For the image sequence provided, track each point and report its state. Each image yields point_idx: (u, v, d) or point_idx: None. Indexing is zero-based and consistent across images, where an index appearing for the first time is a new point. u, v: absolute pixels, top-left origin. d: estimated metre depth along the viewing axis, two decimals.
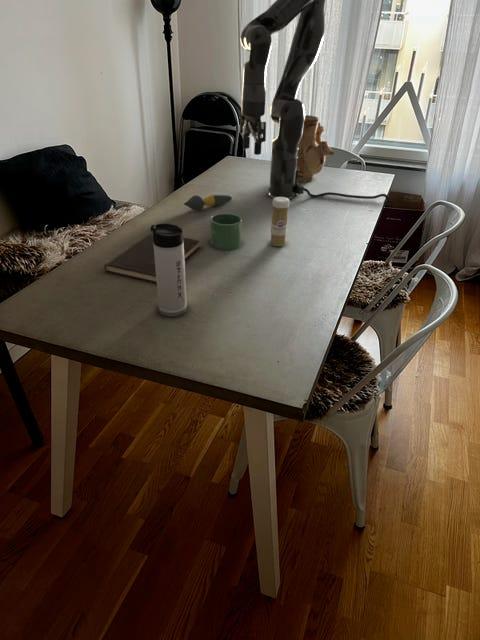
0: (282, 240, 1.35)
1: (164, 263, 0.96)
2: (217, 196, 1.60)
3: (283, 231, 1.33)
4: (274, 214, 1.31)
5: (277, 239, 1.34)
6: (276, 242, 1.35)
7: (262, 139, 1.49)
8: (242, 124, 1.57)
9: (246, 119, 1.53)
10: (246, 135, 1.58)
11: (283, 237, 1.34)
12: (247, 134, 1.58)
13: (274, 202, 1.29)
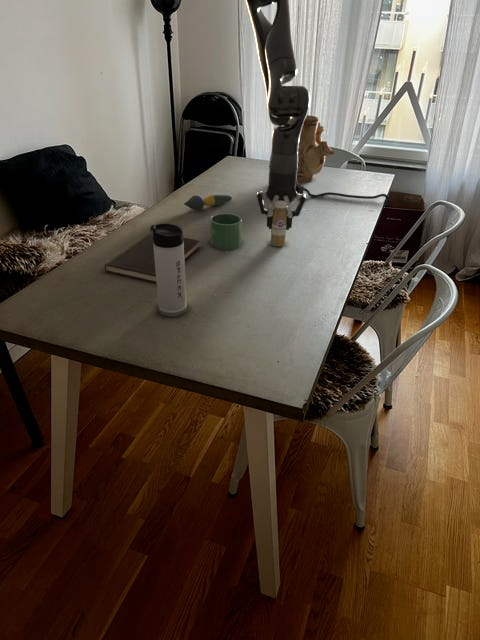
0: (282, 240, 1.35)
1: (164, 263, 0.96)
2: (217, 196, 1.60)
3: (283, 231, 1.33)
4: (274, 214, 1.31)
5: (277, 239, 1.34)
6: (276, 242, 1.35)
7: None
8: (263, 203, 1.30)
9: (272, 193, 1.28)
10: (271, 213, 1.32)
11: (283, 237, 1.34)
12: None
13: None
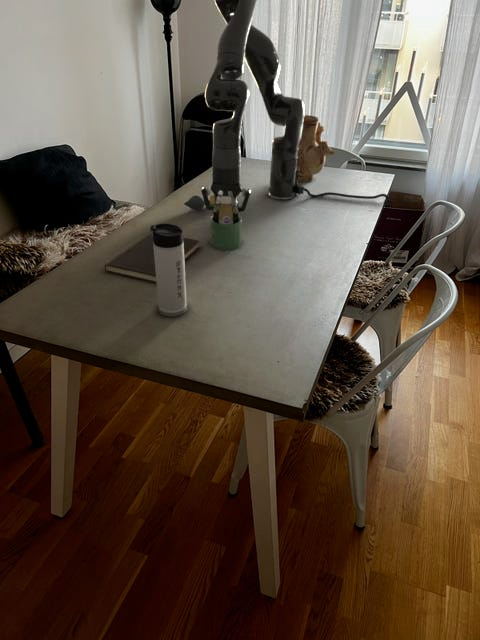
0: None
1: (164, 263, 0.96)
2: None
3: None
4: (220, 209, 1.29)
5: None
6: None
7: None
8: (208, 198, 1.29)
9: (217, 188, 1.26)
10: None
11: None
12: None
13: None
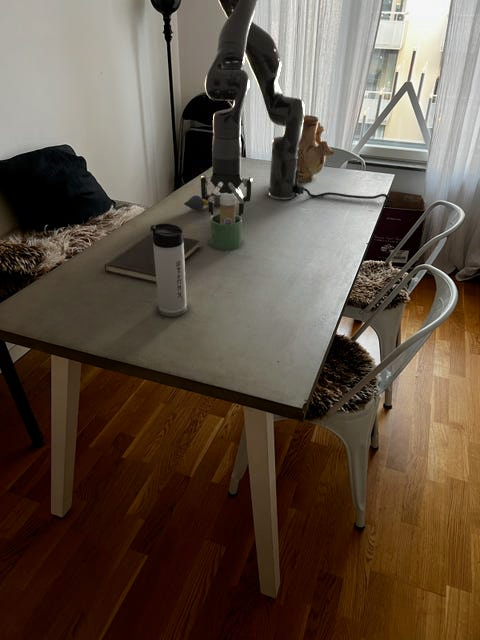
0: None
1: (164, 263, 0.96)
2: (217, 196, 1.60)
3: None
4: (221, 211, 1.30)
5: None
6: None
7: None
8: (205, 188, 1.27)
9: (217, 180, 1.25)
10: None
11: None
12: None
13: (220, 199, 1.28)
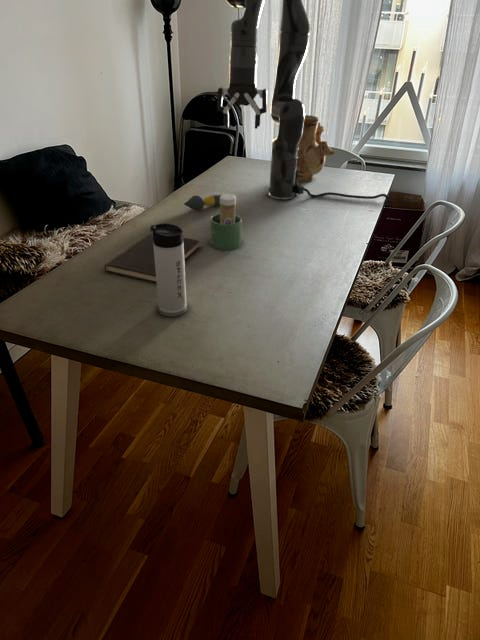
0: None
1: (164, 263, 0.96)
2: (217, 196, 1.60)
3: None
4: (221, 211, 1.30)
5: None
6: None
7: None
8: (221, 99, 1.33)
9: (233, 91, 1.31)
10: (227, 111, 1.35)
11: None
12: None
13: (220, 199, 1.28)
